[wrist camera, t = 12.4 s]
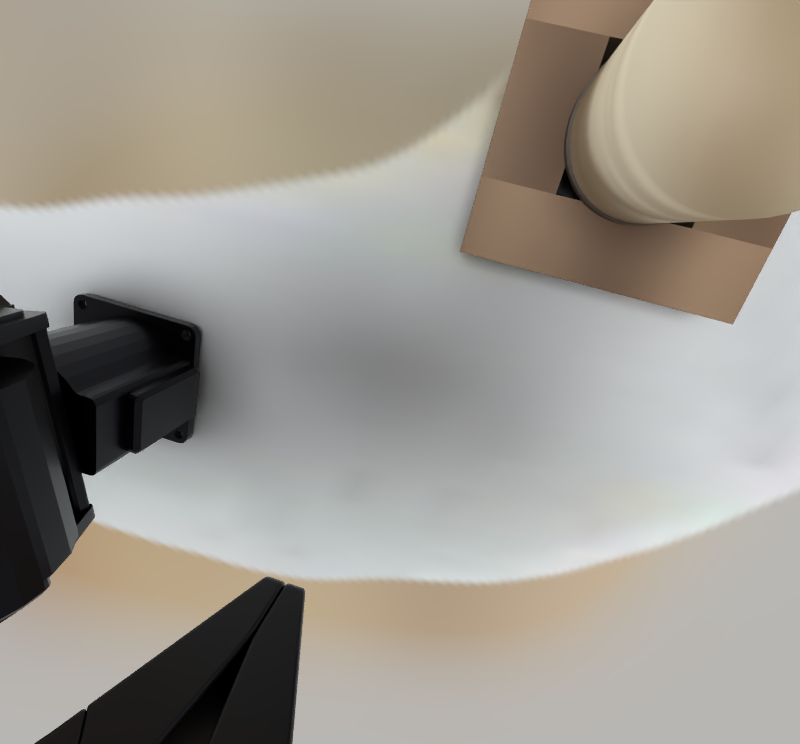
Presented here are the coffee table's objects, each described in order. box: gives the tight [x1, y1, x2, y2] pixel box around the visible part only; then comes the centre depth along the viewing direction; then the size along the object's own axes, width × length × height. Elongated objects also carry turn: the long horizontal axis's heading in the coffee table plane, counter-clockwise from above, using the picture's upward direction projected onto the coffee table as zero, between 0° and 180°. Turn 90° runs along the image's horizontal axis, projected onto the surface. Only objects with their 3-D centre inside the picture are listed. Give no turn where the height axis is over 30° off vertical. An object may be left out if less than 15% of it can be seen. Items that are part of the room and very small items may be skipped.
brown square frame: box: [460, 0, 791, 324], centre depth 15 cm, size 9×9×3 cm
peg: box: [564, 0, 800, 226], centre depth 12 cm, size 5×5×9 cm
